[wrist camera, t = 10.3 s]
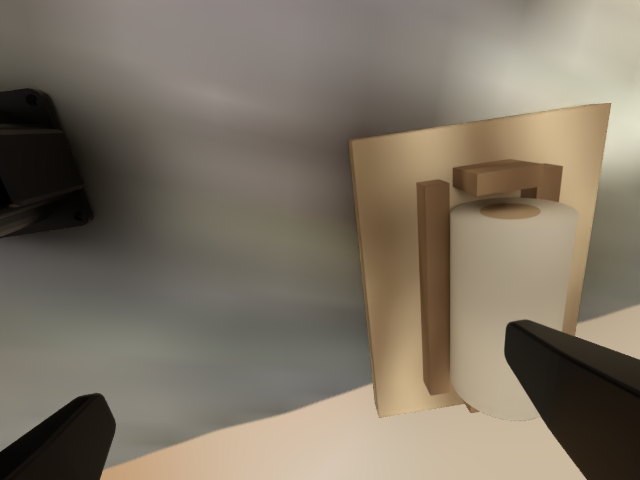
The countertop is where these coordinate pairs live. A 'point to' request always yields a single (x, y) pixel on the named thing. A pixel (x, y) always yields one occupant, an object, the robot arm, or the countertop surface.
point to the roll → (504, 292)
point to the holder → (434, 229)
